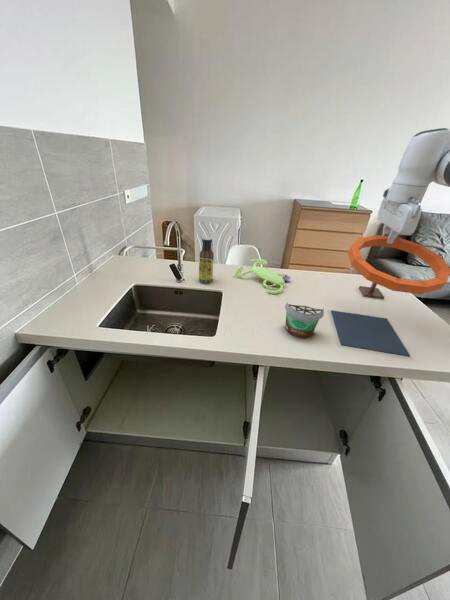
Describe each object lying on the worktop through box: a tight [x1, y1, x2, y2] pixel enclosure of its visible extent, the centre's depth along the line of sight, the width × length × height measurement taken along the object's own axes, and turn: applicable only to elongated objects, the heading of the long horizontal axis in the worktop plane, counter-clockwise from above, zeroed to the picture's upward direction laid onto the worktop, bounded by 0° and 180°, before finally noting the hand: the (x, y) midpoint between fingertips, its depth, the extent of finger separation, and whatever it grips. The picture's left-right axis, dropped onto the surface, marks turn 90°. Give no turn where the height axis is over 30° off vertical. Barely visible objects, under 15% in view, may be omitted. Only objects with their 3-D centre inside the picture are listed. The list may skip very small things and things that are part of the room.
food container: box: [284, 301, 325, 339], centre depth 78 cm, size 12×6×10 cm, turn 76°
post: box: [358, 282, 385, 300], centre depth 105 cm, size 8×8×10 cm
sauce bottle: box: [198, 236, 215, 284], centre depth 105 cm, size 6×6×20 cm
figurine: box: [234, 258, 291, 295], centre depth 113 cm, size 18×27×6 cm
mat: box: [330, 309, 411, 357], centre depth 84 cm, size 20×20×1 cm
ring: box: [347, 234, 450, 295], centre depth 71 cm, size 25×25×3 cm
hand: (386, 241), depth 79 cm, fingers closed on ring, 2 cm apart
